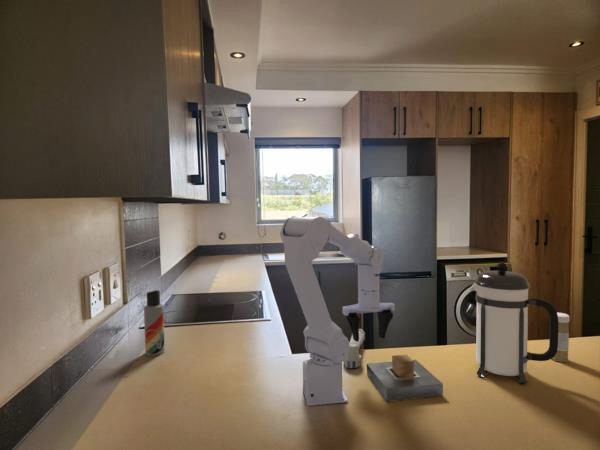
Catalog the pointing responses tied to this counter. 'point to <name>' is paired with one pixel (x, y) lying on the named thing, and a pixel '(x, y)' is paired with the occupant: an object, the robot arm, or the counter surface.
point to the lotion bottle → (154, 324)
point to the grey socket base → (404, 382)
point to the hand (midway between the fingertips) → (369, 338)
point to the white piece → (354, 351)
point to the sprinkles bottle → (562, 338)
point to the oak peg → (402, 366)
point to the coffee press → (507, 324)
